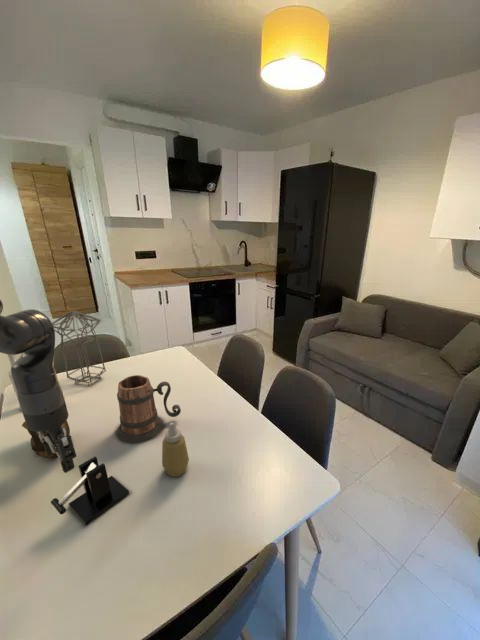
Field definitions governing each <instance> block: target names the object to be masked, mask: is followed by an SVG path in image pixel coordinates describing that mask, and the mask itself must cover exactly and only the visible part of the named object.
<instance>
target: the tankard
mask: <svg viewBox="0 0 480 640" xmlns="http://www.w3.org/2000/svg"><path fill="white" fill-rule="evenodd" d="M117 386H118V387H117V393H116V399H117V401H118V409H119V423H120V424H119V426H118V427H117V429H116V430H115V431H116V432H115V435H116V438H117V439H118V440H119V441H121V442H123V443H125V444H139V443H140V444H141V443H145V442H148V441H150V440H153V439H155V438H156V437H158V435H160V434H161V433H162V431H163V430H164V428H165V421H164V420H163V419H162V418H161V417H160V416H158V409H157V408H156V402H155V397H154V393H155V392H157V393H158V394H159V395H160V396H163V395H164V396H163V406H164V410H165V413H166V414H167V416H168V417H171V418H177V417H178V416H179V415H180V414H181V411H182V409H181V406H180V405H179V404H173V406H172V407H171V410H172V411H170V410H169V409H168V405H167V400H168V398H169V396H170V394H171V391H172V388H171V384H170V383H169V381H161V382H159V383H158V385H157V386H156V388H154V387H153V386H152V384H151V381H150V379H149V378H148V377H147V376H144V375H139V374H134V375H130V376H127V377H125V378H123V379H121V380H120V381H119V382H118V384H117ZM163 387H167V389H166V392H165V393H164V392H163Z"/></svg>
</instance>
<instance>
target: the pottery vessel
mask: <svg viewBox="0 0 480 640" xmlns="http://www.w3.org/2000/svg"><path fill="white" fill-rule="evenodd" d="M62 426H63V427H64V428H65V430H66V435H68V434H69V435H70V436H71V433H70V432H71V429H70V425H69V422H68V419H67V420H66V421H65V422H64V423H63V424H62ZM62 426H61V427H62ZM21 427H23V428H24V429H25V430H27V432H28V433H29V435H30V436H31V438H30V448H31V451H32V452H34V453H35V454H36V455H39V456H40V457H43V458H55V457H58V456H57V454H56V453H54V454H52V455H50V456H48V455H47V453H46V450H45V447H44V444H43V443H42V442H41V440H40V438H39V437H37V433H36V431H32V430H30V429H28V427H27V425H26V422H25V421H24V422H23V423H22V424H21ZM57 448H58V446H57Z"/></svg>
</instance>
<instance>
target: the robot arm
mask: <svg viewBox="0 0 480 640" xmlns="http://www.w3.org/2000/svg"><path fill="white" fill-rule="evenodd" d="M3 311H4V303H3V301H2V299H0V354H4V355H7V354H9V355H15V356H16V355H17V356H18V355H20V354H21V355H20V356H19V357H18V358H17V359H16V360H17V361H15V362H14V363H13V365H12V366H11V365H10V370H11V375H12V378H13V381H14V384H15V387H16V390H17V394H18V399H17V401H19V402H18V404H19V405H20V407H21V409H20V410H21V413H22V416H23V419H24V422H26V425H27V427H28V429H30V430H32V431H36V433H37V437H39V438H40V440H41V442H42V443H43V444H44V447H45V450H46V453H47V455H48V456H50V455H52V454H54V453H56V454H57V456H56V457H58V460H59V464H60V466H61V469H62V472H63V473H68V472H70V471H72V470H74V469H75V462H74V459H75V458H77V453H76V450H75V446H74V442H73V439H72V436H71V434H70V435H69V434H68V435H66V430H65V428H64V427H63V426H62V424H63V423H64V422H65V421H66V420H67V421H68V419H69V411H68V407H67V403H66V399H65V396H64V392H63V389H62V386H61V384H60V382H59V378H58V375H57V370H56V367H55V352H56V332H55V330H56V329H55V328H54V327H53V326H54V325H53V324H52V323H53V322H52V321H51V320H50V318H49V317H48V315H46V314H45V313H44V312H42V311H41V310H38V309H33V308H31V309H24V310H21V311H17V312H15V313H12V314H9V315H6V316H4V315H2V313H3ZM54 329H55V330H54ZM20 407H19V408H20ZM61 426H62V427H61ZM57 446H58V448H57Z"/></svg>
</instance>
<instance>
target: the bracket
mask: <svg viewBox="0 0 480 640" xmlns="http://www.w3.org/2000/svg"><path fill="white" fill-rule="evenodd" d="M92 462H93V463H95V464H96V465H97V467H96V468H94V469H92V470H91V471H89V472H87V473H85V472H84V470H85V469H86V468H87V467H88V466H89V465H90V464H91V463H92ZM77 467H78V471H79V474H80V479H81V478H82V477H83V476H84V475H85V474H86V476H87V479H88V480H87V481H86V482H85V483H84V484H83V485H82V486H83V489H84V493H82V494H81V495H79V496H78V497H76V498H75V499H73V500H72V501H70V502H69V503H68V507H69V508H70V509H71V510H72V511H73V513H74V514H75V515H76V516H77V517H78V519H80V520H81V522H82V523H83V524H84V525H85V526H87V525H89V524H90V523H92V522H93V521H95V520H96V519H97V518H98V517H100V516H101V515H102V514H104V513H105V512H107V511H108V510H109V509H111V508H112V507H113V506H115V505H116V504H118V503H119V502H120V501H122V500H123V499H124V498H126V497H127V496H128V495H130V491H129V489H127V488H126V487H125V486H124V485H123V484H122V483H121V482H120V481H118V480H117V479H116V478H115V477H114V476H112V475H111V476H109V477H108V471H107V467H106V464H105V463H103V462H102V463H101V464H99V461H98V457H96V456H93V457H91V458H90V459H88V460H86V461H84V462H83V463H81V464H79V465H78V466H77Z"/></svg>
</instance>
